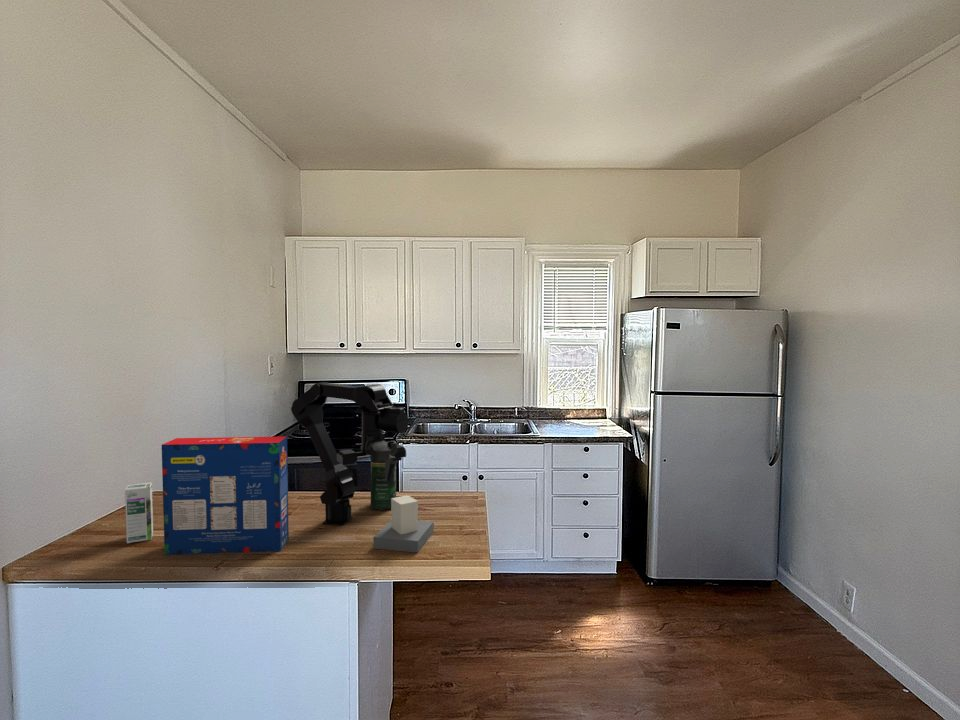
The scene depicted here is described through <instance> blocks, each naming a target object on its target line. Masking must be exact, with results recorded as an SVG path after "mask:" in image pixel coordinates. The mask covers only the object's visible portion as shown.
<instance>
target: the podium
mask: <svg viewBox="0 0 960 720" xmlns="http://www.w3.org/2000/svg"><path fill="white" fill-rule="evenodd" d="M434 525H435V523H434V521H432V520H421V519H418V531H414V532H410V533H406V534H399V533H398V532H397V531H396V530H394V529H393V528H392V527H391V520H389V521H388V522H387V524H386V525H384V526H383V527H382V528H381V529H380V530H379V531H378V532H377V533H376V534H375V535H374V536H373V549H374V548H375V550H377V549H378V550H385V549H387V551H398V552H408V553H416V554H417V553H420V550H421V549H422V548H423V547H424V546H425V544H426V543H427V541H428V540H429V539H430V537H431V536H432V535H433V534H434V533H435V531H434Z"/></svg>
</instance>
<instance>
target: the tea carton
mask: <svg viewBox="0 0 960 720" xmlns="http://www.w3.org/2000/svg"><path fill="white" fill-rule="evenodd" d="M390 509H391V510H390V511H391V512H390V513H391V514H390V517H391V519H390V521H391V527H392V528H393V529H394V530H396V531H397V532H398V533H399V534H406V533H410V532H414V531H418V520H419V501H418V499H415V498H414V497H412V496H410V495H402V496H398V497H397V496H396V498H391V508H390Z"/></svg>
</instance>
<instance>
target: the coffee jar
mask: <svg viewBox="0 0 960 720" xmlns="http://www.w3.org/2000/svg"><path fill="white" fill-rule="evenodd" d="M396 497H397V463H396V464H395V466H394V468H393V471H392V473H391V476H390V479H389V481H388V482H386V479H385V460H381V461H378V462H375V461H373V459H372V457H370V508H371V509H375V510H379V511H384V510H387V509H391V498H396Z"/></svg>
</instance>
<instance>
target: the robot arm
mask: <svg viewBox="0 0 960 720" xmlns="http://www.w3.org/2000/svg"><path fill="white" fill-rule="evenodd" d="M328 398H334V399H341V400H348V401H352V402H354V403H355V404H357V405H359V407H357V409H356V410H355V411H354V412H355V413H358V414H361V431H360V434H359V435H360V436H361V446H360V447H359V449H360V451H356V452H355V451H354V450H352V449H343V450H341V449H340V450H338V451H337V450H336V447H335V446H334V444H333V442H332V439H331V437H330V435H329V433H328V431H327V429H326V427H325V425H324V422H323V418H324V410H323V406H324V405H325V404H326V403H327V400H328ZM290 411H291V413H292V415H293V417H294V418H295V420H296V421H297V423H299V424H300V425H301V426H303V427H304V428H305V429H306V430H307V433H308V435H309V437H310V439H311V441H312V444H313V447H314V449H315V450H316V453H317V454H318V457H319V460H320V462H321V464H322V466H323V468H324V471H325V478H324V479H325V481H324V483H325V487H326V489H325V490H324V491H323V492H322V494H321V495H319V498H320V502H321V504H322V505H325V510H324V511H325V520H324V521H322V525H335V526H344V525H345V524H347V522H349V521H351V520H352V519H353V516H352V505H351V502H350V501H351V499H353V498H354V495H355V493H356V491H357V488H358V487H359V486H358V485H359V477H358V467H359V464H358V463H357V461H358V460H361V459H369V458H370V459H371V457H372V459H373V461H375V462H378V461H381V460H385V479H386V482H388V481H389V479H390V476H391V473H392V471H393V468H394V466H395V464H396V465H397V463H398V462H399V461H402V460H403V459H402V458H406V457H407V449H406V447H405V446H403V445H400V444H398V443H397V442H396V440H390V441H386V439H385V433H384V432H388V433H389V432H390V433H396V434H404V433H405V432H406V430H407V429H408V426H409V418H408V415H407V414H406V412H405V409H404V407H395V405H394V404H393V402H392V400H391V399H390V397H389V396H388V394H387V391H386V388H384V386H383V385H382V384H378V383H377V384H368V385H360V386H357V385H347V384H340V383H331V382H328V381H326V382H325V381H323V382H316V383H314V384H313V385H311V387H310V388H309V389H308V390H306V391H305V392H303V393H302V394H301V395H300V396H298V398H297V399H295V400H294V401H293V402H292V405H291V408H290Z"/></svg>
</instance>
